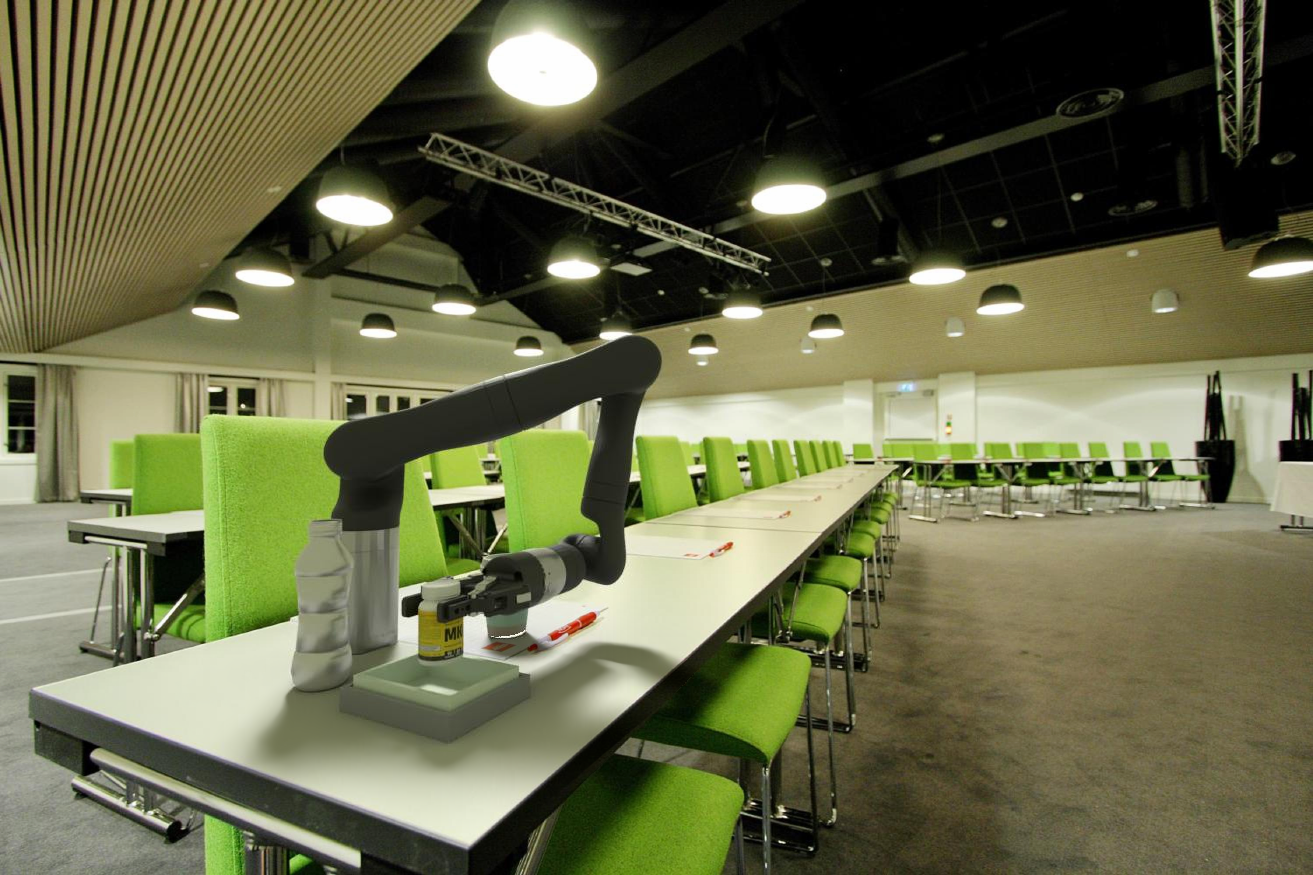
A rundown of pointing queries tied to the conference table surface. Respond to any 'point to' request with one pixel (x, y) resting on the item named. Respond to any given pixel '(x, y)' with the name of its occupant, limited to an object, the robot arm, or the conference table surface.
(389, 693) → the sage crate
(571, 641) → the conference table surface
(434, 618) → the supplement bottle
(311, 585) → the plastic bottle
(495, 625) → the coffee cup
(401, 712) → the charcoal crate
